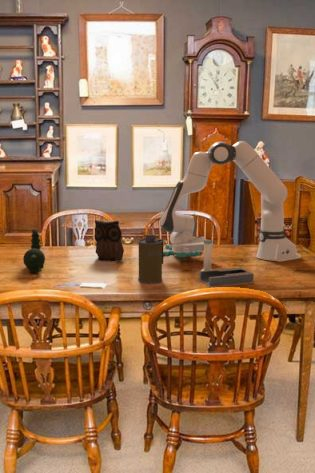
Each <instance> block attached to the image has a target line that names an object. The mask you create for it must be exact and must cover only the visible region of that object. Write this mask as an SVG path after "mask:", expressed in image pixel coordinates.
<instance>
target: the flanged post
mask: <svg viewBox="0 0 315 473" xmlns="http://www.w3.org/2000/svg"><path fill="white" fill-rule="evenodd" d="M212 243H213V240H212V239H207V240H204V251H203V268H202V269H201V270H200V271H207V270H213V269H212V256H213V255H212V254H213V253H212V252H213V250H212Z"/></svg>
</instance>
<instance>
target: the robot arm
mask: <svg viewBox="0 0 315 473" xmlns="http://www.w3.org/2000/svg"><path fill="white" fill-rule="evenodd" d="M231 162H234V163H235V164H236V166H238V167H239V169H240V170H241V171H242V172H243V174H244V175H245V176H246V177H247V179H248V180H249V182H251V184H252V185H253V186H254V187H255V189H256V190H257V191H258V192H259V193H260V209H261V210H260V211H261V214H260V215H261V217H260V229H259V242H258V249H257V253H256V258H257V259H259V260H260V259H261V260H264V261H274V262H279V263H281V262H287V261H292V260H293V261H294V260H297V259H302V256H301V254H299V253H298V252H297V251H298V250H297V246H296V244H294V243H293V241H291V240H290V239H288V237H287V236H290V235H291V232H290V231H288V230H284V223H285V221H284V220H285V214H284V213H285V212H284V202H285V201H286V200H287V197H288V188H287V187H286V185H285V183H283V182H282V181H281V179H280V178H279V177H278V176H277V175H276V173H275V172H274V171H273V170H272V169H271V168H270V167H269V166H268V164H267V163H266V162H265V161H264V159H263V158H262V157H261V155H260V154H259V153H258V152H257V151H256V149H254V148H253V147H252V146H251V145H250V144H249V143H248V142H247V141H244V140H239V141H236V143H233V145H231V144H229V143H226V142H224V141H216V142H215V143H212V145H211V146H210V147H209V148H207V150H206V151H197V152H194V153H193V154H192V156H191V159H190V161H189V164H188V167H187V169H186V173H185V175H184V177H183V178H182V180H180V181H179V180H178V181H177V183H176V184H175V187H174V189H173V192H172V193H171V196H170V198H169V200H168V203H167V205H166V208H165V209H164V210H163V213H162V215H161V217H160V219H159V225H160V227H161V230H163V231H164V232H166V233H168V232H169V233H170V236H169V240H170V243H171V244H170V245H169V247H170V248H172V251H173V252H174V253H187V254H188V253H192V252H196V251H201V252H204V240H208V239H206V238H205V237H204V236H195V235H196V232H197V228H198V223H197V220H196V219H195V217H194V216H193V215H191V214H185V213H184V214H183V213H176V210H177V208H178V205H179V204H180V201H181V199H182V198H183V197H184V196H186V195H189V194H192V193H193V194H194V193H198V192H199V191H202V190H203V189H204V188H206V186H207V183H208V180H209V175H210V172H211V169H212V167H213V166H214V165H218V166H221V165H226V164H228V163H231ZM213 249H214V242H212V251H213Z"/></svg>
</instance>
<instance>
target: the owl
mask: <svg viewBox="0 0 315 473" xmlns="http://www.w3.org/2000/svg"><path fill="white" fill-rule="evenodd" d="M119 223H120V221H119V220H105V219H104V220H97V219H94V224H95V227H94V240H95V243H96V245H95V254H96V255H97V260H98V261H100V262H110V263H111V262H123V258H124V252H125V249H124V245H123V242H122V238H123V236H122V235H123V234H122V229H121V228H120V227H121V226H120V224H119Z"/></svg>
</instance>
